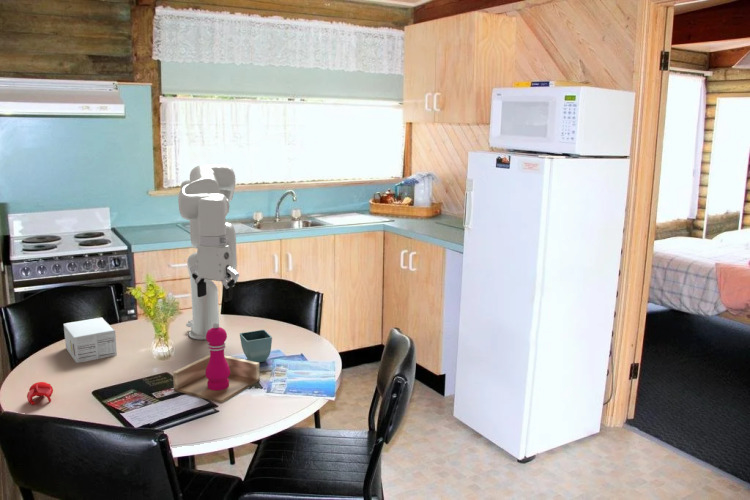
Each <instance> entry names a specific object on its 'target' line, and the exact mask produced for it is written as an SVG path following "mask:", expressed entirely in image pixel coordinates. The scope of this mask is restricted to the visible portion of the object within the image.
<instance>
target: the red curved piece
mask: <svg viewBox="0 0 750 500" xmlns="http://www.w3.org/2000/svg"><path fill="white" fill-rule="evenodd" d="M28 389H29V390H28V392H27V394H26V397H27V401H28V403H30V405H32V406H33V405H35V404H36V402H35V401H34V400H33V398H34V397H46V398H47V400H48V402H49V403H51V402H52V398H51V397H52V395H53V393H54V388H53V386H52V385H51V384H50V383H48V382H45V381H39V382H35V383H33V384H31V386H29V388H28Z"/></svg>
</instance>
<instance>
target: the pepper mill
mask: <svg viewBox="0 0 750 500" xmlns="http://www.w3.org/2000/svg"><path fill="white" fill-rule="evenodd" d="M227 338H228V335H227V332H226V329H224V328H222V327H220V323H219V324H218V323H214V324H213V328H211V329H209V330H208V332H207V334H206V340H205V341H207V343H208V344H207V346H208V347H207V349H208V350H209V355H210V360H209V363H208V365H207V367H206V372H205V375H206V377H207V379H208V382H207V384H208V388H209V389H210V390H223V389H226V388H227V387H228V386H229V379H227V378H228V377H229V375H230V368H229V365H228V363H227V361H226V359H225V357H224V355H225V349H226V341H227Z"/></svg>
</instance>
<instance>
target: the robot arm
mask: <svg viewBox="0 0 750 500" xmlns="http://www.w3.org/2000/svg"><path fill="white" fill-rule="evenodd" d="M236 182H237V181H236V174H235V172H234V169H233V167H231V166H229V165H227V164H203V165H202V164H201V165H197V166H194V167H193V169H191V171H190V173H189V179H186V180H184V181H182V183H181V184H180V190H179V193H178V196H177V197H178V202H177V203H178V211H179V215H180V216H181V218H182V219H184V220H186V221H189V235H190V236H189V237H190V242H191V246H192V248H194V249H197V250H196V251H197V252H193V253H192V254H190V255H189V256H188V257H187V261H186V262H187V263H186V264H187V269H188V275H189V280H190V290H191V291H190V292H191V293H190V294H191V312H192V313H191V315H192V320H191V319H189V320H188V321H187V322H186V325H185V326H186V327H188V328H190V330H189V332H188V336H189V338H191V339H193V340H198V341H200V340H201V341H207V340H206V334H207V332H208V330H209V329H211V328H213V324H214V323H218V324H219V325H220V313H219V311H220V310H219V308H220V307H219V289H218V286H217V284H216V283H215V282H214V281H216V282H221V283H222V285H223V286H224V288H223V289H222V290H223V302H225V303H227V302H229V301H232V300H233V296H234V295H233V292H234V291H233V287H235V285H236V284H237V282H238V279H239V277H240V273H239V272H238V271H237V266H238V265H237V263H238V262H237V236H236V229H235V227H234V225H233V224H232V223H231V222H227V221H226V217H227V215H228V214H229V213H230V202H231V201H232V200H233V198H234V192H235V187H236Z"/></svg>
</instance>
